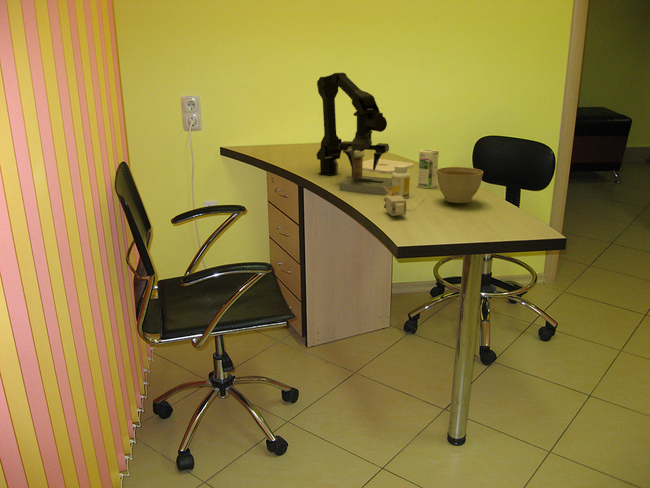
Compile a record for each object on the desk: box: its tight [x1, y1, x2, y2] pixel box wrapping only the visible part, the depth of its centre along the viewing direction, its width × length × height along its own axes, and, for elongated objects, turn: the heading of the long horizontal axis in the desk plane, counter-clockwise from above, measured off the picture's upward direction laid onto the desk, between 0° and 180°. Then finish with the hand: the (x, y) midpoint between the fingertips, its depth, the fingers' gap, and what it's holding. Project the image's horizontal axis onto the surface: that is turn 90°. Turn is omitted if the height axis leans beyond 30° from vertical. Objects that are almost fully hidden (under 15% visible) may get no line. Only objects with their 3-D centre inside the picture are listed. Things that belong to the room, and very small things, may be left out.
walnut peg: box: [350, 151, 365, 177], centre depth 252 cm, size 6×6×12 cm
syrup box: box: [417, 149, 440, 190], centre depth 240 cm, size 6×6×14 cm
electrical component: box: [383, 187, 407, 217], centre depth 213 cm, size 24×6×5 cm, turn 12°
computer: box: [362, 158, 414, 175], centre depth 274 cm, size 22×22×3 cm
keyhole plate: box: [338, 175, 392, 196], centre depth 239 cm, size 18×16×3 cm
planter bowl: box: [437, 166, 484, 204], centre depth 220 cm, size 16×16×11 cm
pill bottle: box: [391, 165, 411, 199], centre depth 225 cm, size 6×6×12 cm
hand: (363, 169), depth 238 cm, fingers open, 8 cm apart
